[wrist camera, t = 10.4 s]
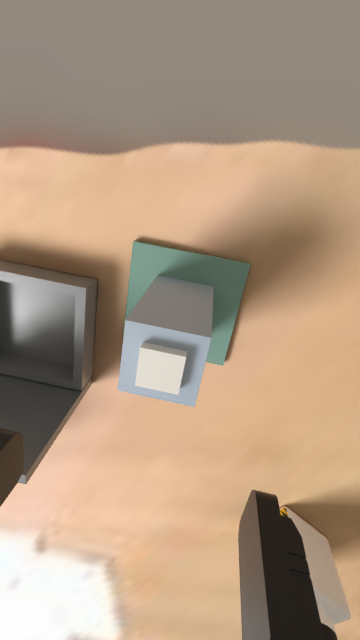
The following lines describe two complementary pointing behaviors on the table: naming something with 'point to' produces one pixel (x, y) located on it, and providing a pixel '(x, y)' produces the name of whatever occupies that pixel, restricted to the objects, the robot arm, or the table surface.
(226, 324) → the pad
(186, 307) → the module
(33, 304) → the case
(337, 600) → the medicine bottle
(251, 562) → the robot arm
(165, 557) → the table surface
